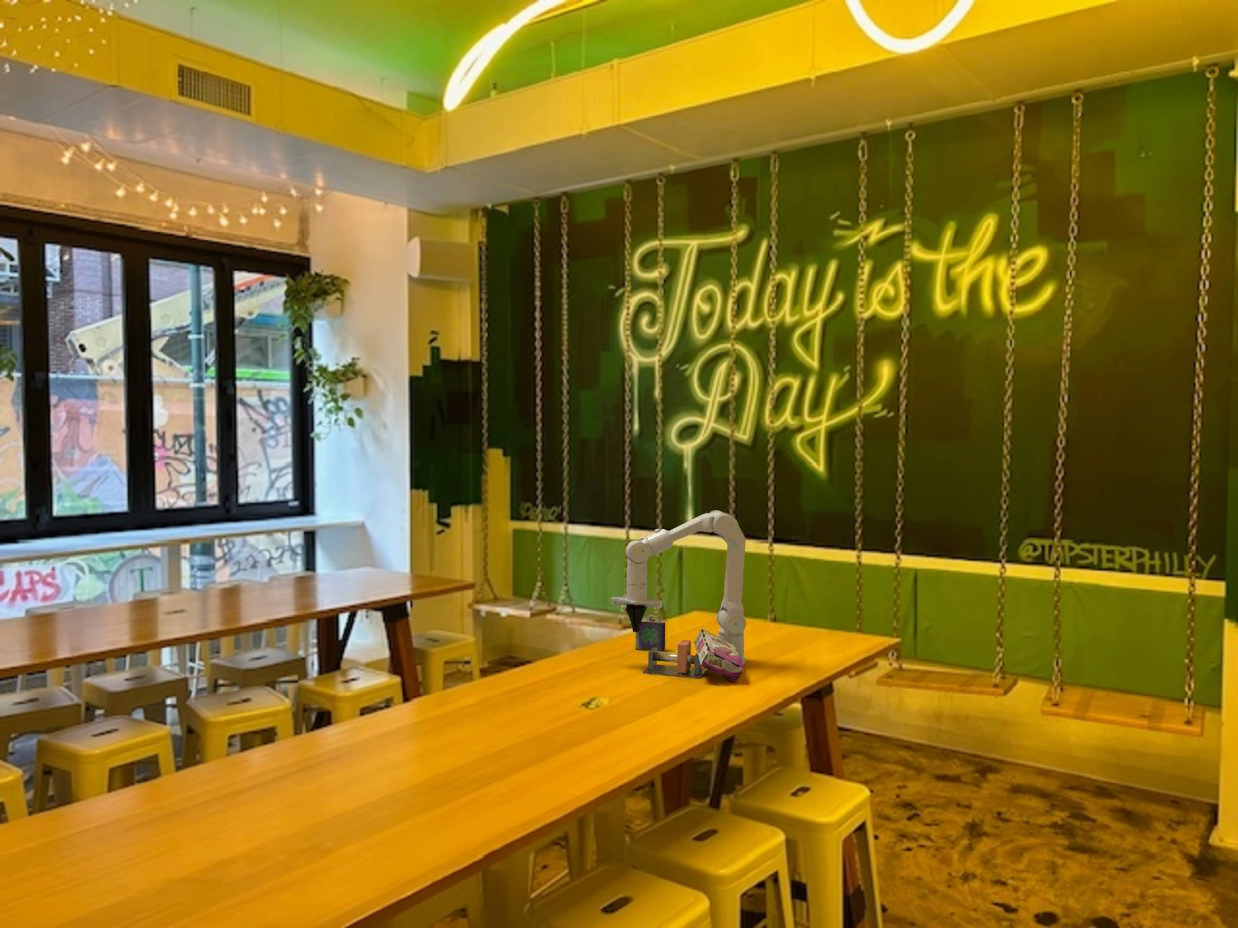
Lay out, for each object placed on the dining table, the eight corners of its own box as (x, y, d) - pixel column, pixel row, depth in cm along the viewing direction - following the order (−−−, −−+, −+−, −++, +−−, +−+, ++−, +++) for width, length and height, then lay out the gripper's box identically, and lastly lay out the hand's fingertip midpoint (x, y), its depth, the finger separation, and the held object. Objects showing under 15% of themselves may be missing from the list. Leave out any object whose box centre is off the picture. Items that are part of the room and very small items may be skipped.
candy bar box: (709, 649, 245) (701, 627, 261) (700, 665, 246) (692, 642, 262) (746, 667, 247) (735, 644, 263) (736, 683, 248) (726, 658, 264)
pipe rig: (651, 665, 264) (651, 645, 264) (706, 670, 260) (707, 650, 259) (642, 673, 256) (643, 652, 255) (700, 678, 251) (700, 658, 251)
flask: (634, 649, 282) (635, 614, 282) (636, 647, 285) (637, 612, 285) (664, 652, 280) (665, 616, 280) (666, 649, 283) (666, 614, 282)
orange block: (682, 666, 260) (682, 639, 260) (690, 667, 259) (691, 640, 259) (677, 671, 254) (677, 644, 254) (685, 672, 254) (686, 645, 253)
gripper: (607, 584, 260) (607, 632, 261) (658, 587, 256) (657, 636, 257) (615, 580, 267) (614, 627, 268) (664, 583, 263) (663, 631, 263)
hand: (636, 631), depth 263 cm, fingers closed
